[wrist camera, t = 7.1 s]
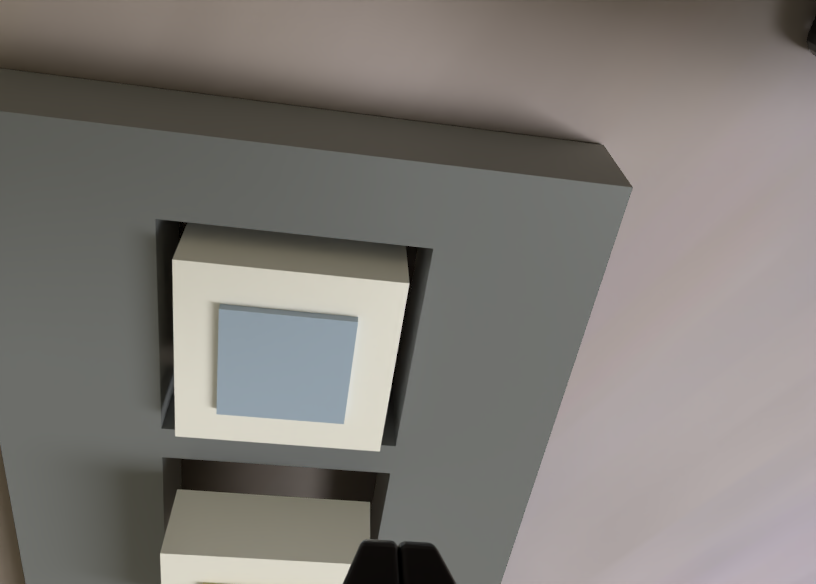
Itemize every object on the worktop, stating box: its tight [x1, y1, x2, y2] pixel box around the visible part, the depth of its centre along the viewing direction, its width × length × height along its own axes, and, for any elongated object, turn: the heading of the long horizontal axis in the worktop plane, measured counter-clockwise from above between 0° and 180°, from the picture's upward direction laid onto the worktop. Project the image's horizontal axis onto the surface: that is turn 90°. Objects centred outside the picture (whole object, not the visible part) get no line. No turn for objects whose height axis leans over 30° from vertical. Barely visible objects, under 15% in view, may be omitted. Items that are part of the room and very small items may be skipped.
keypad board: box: [0, 68, 633, 584], centre depth 23 cm, size 14×24×2 cm, turn 171°
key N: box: [172, 222, 409, 452], centre depth 18 cm, size 5×5×2 cm
